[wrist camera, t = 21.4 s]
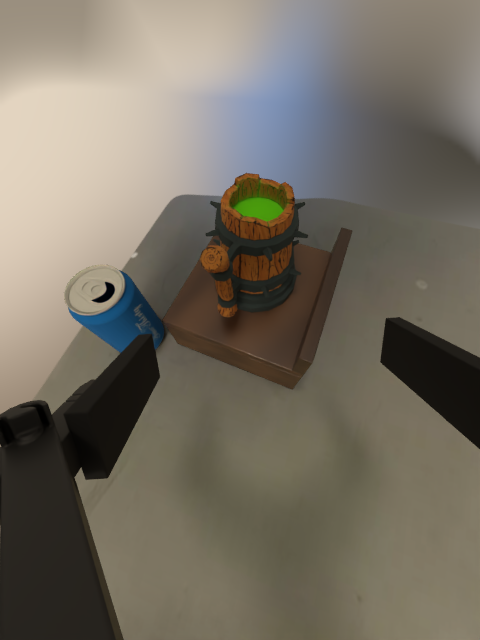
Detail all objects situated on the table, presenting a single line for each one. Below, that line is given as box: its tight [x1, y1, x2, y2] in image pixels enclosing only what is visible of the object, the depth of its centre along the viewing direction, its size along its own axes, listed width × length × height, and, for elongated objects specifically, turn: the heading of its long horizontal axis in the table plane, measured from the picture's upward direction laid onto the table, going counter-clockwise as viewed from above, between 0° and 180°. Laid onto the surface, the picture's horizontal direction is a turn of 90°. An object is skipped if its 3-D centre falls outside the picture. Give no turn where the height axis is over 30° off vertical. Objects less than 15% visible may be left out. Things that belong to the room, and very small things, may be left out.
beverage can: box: [64, 265, 164, 353], centre depth 29 cm, size 6×6×12 cm
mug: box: [200, 173, 308, 317], centre depth 24 cm, size 13×10×12 cm
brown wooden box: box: [162, 228, 352, 389], centre depth 31 cm, size 16×16×11 cm
